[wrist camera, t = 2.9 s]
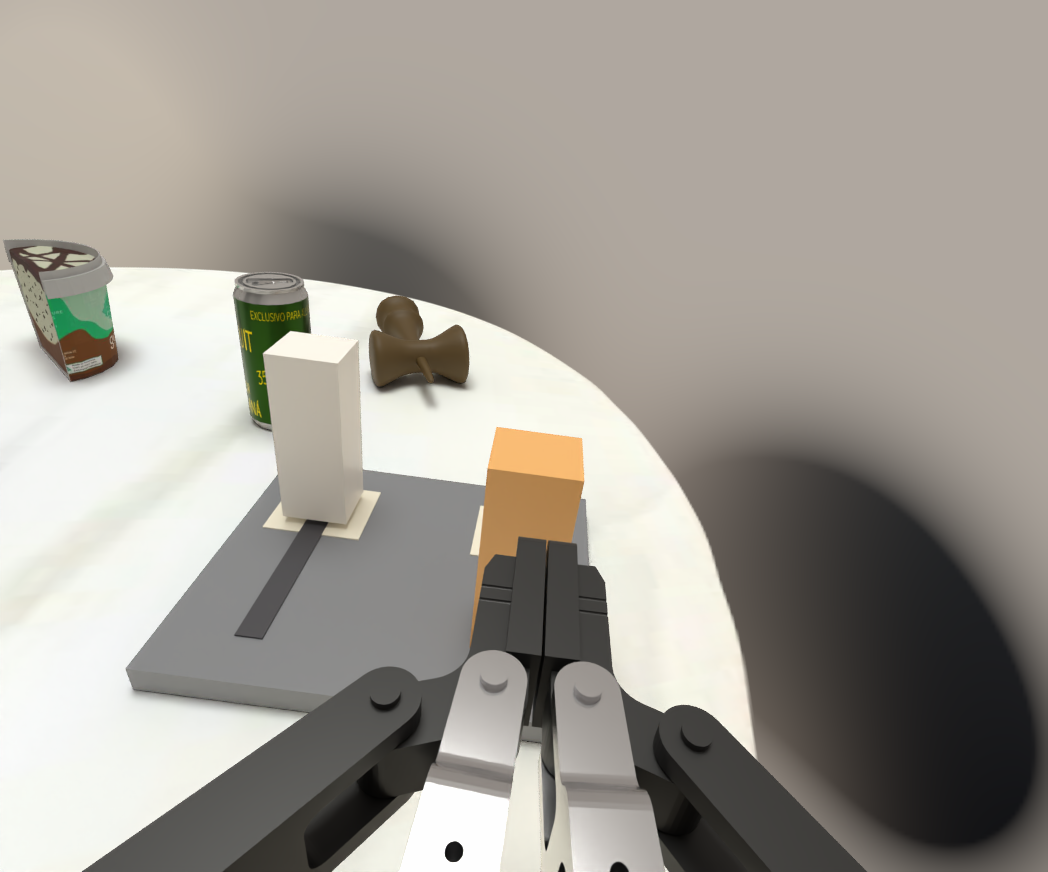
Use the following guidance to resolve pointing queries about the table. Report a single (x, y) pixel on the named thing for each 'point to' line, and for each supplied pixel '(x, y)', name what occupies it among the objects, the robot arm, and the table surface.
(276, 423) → the tall cream upright block
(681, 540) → the table surface
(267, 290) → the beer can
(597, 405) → the table surface
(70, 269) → the food container
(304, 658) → the switch board
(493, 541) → the orange tall rectangular block
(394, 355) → the kendama
